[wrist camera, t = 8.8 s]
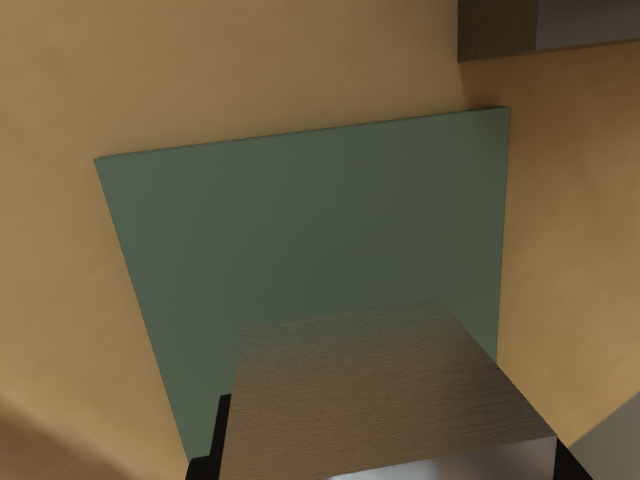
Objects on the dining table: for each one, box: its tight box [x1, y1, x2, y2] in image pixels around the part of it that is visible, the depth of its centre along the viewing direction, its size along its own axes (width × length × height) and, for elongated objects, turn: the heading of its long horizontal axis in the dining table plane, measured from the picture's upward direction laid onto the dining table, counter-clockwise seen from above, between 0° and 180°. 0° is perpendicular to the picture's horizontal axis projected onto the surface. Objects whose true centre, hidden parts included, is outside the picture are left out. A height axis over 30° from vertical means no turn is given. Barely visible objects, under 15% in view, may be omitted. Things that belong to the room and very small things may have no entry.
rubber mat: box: [94, 106, 511, 463], centre depth 15 cm, size 13×13×1 cm
